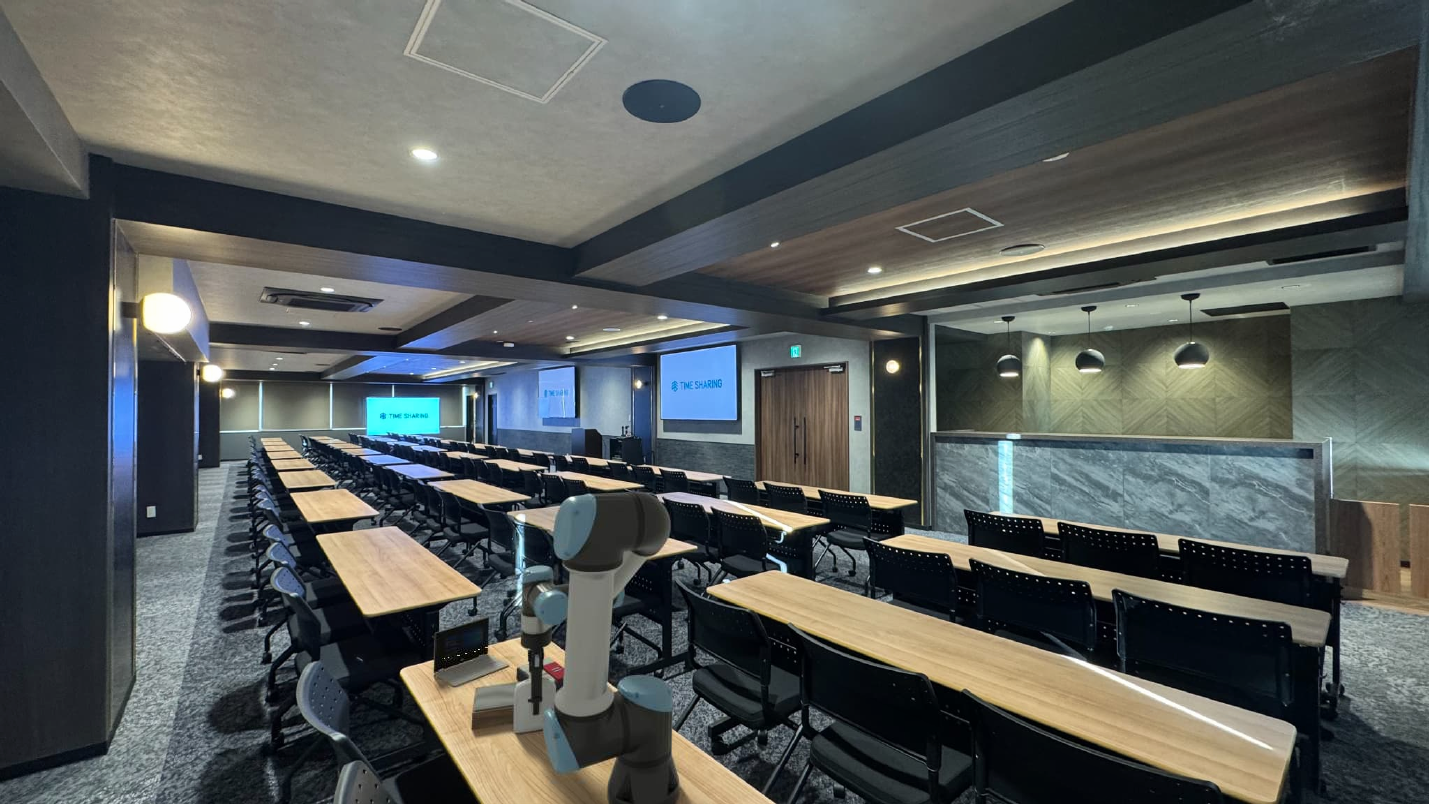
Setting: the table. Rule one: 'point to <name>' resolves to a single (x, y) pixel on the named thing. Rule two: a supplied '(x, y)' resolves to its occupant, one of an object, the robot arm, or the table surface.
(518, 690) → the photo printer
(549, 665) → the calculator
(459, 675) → the laptop
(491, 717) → the mirror
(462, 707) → the table surface
